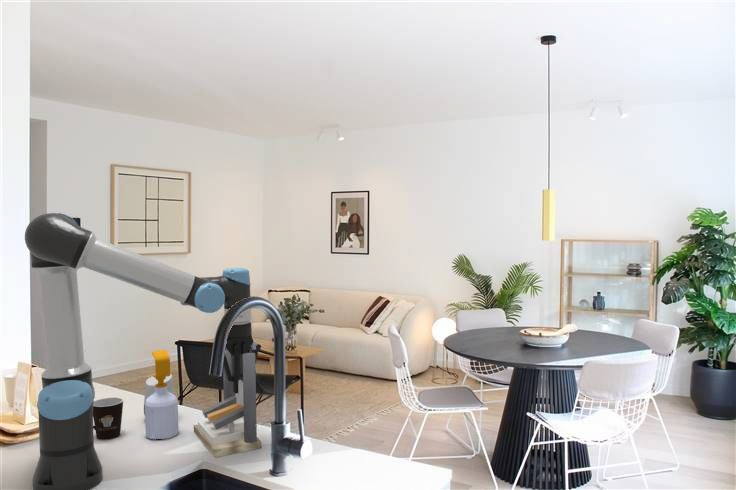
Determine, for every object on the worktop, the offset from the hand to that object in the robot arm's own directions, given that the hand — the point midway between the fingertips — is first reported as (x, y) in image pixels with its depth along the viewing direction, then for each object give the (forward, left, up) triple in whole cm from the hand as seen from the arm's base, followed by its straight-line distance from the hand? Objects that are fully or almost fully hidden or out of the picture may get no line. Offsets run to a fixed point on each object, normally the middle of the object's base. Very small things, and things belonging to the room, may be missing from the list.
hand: (240, 403), depth 176 cm
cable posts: (0, 0, -8) cm, 8 cm away
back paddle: (-4, +6, -2) cm, 7 cm away
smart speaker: (-17, +28, -10) cm, 34 cm away
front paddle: (-4, -5, -2) cm, 7 cm away
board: (-4, 0, -10) cm, 11 cm away
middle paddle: (-4, 0, -2) cm, 5 cm away
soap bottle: (-19, +14, -10) cm, 26 cm away
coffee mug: (-34, +22, -10) cm, 42 cm away
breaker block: (-4, 0, -8) cm, 9 cm away
